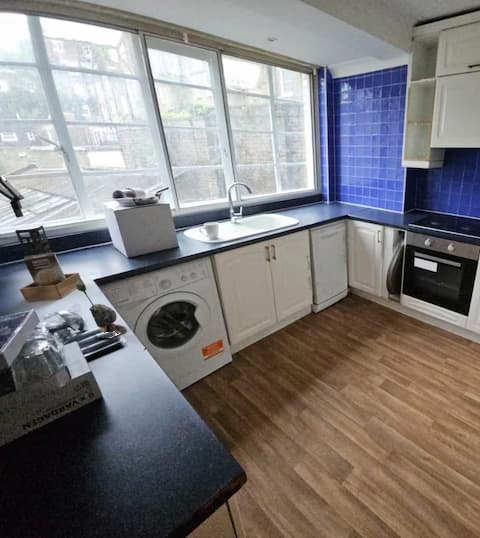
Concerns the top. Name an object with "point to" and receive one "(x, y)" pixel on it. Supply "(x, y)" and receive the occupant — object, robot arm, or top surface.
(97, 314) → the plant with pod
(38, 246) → the holder
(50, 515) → the top surface
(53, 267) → the coffee box
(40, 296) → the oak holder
